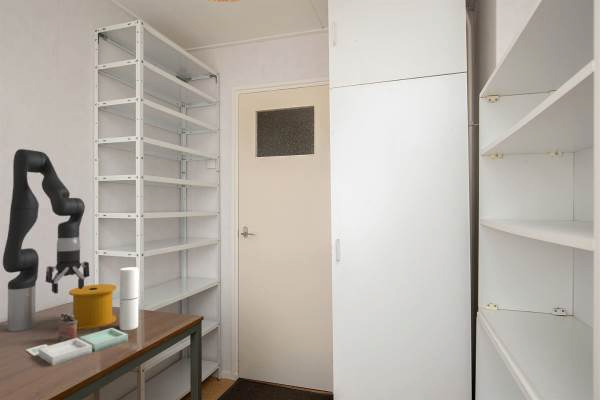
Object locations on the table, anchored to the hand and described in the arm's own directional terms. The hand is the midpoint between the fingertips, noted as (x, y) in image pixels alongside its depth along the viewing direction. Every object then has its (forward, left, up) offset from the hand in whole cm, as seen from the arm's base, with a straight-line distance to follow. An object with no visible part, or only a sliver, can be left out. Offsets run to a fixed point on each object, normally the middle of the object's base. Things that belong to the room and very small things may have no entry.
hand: (68, 290), depth 135 cm
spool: (-13, +15, -19) cm, 28 cm away
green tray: (+14, +7, -19) cm, 24 cm away
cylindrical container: (+6, +21, -19) cm, 29 cm away
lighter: (0, 0, -19) cm, 19 cm away
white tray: (+14, -6, -19) cm, 24 cm away
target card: (+3, -10, -19) cm, 22 cm away
